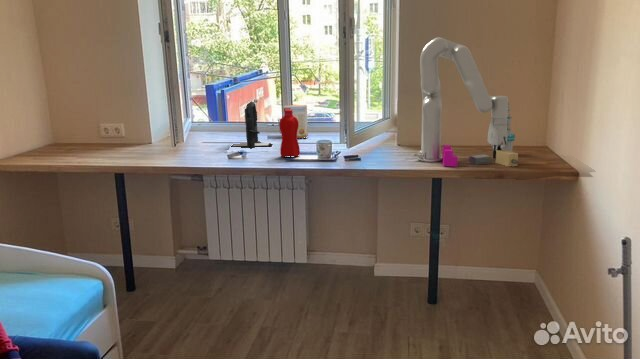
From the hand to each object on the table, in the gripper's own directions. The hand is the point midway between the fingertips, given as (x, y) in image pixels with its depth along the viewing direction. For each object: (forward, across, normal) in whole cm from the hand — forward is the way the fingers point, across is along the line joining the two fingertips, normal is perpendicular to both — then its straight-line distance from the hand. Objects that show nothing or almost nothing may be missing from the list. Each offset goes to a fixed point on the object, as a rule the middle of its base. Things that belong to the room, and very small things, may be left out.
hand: (496, 158), depth 266 cm
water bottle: (+2, -53, -93) cm, 107 cm away
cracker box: (+2, -103, -75) cm, 128 cm away
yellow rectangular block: (+1, +8, 0) cm, 8 cm away
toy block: (+1, -4, -24) cm, 24 cm away
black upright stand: (+2, -88, -107) cm, 139 cm away
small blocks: (+1, 0, -4) cm, 4 cm away
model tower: (+2, -11, +12) cm, 16 cm away
